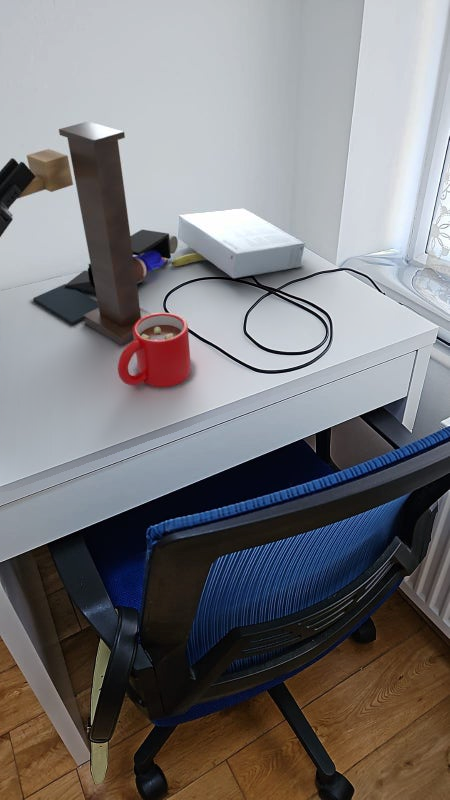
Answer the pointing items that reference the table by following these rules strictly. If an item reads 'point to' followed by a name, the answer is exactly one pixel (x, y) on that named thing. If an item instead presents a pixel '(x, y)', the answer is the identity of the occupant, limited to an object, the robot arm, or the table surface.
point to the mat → (67, 303)
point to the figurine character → (151, 250)
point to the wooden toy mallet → (48, 172)
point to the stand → (105, 228)
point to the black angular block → (85, 282)
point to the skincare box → (240, 242)
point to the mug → (158, 351)
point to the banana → (188, 259)
